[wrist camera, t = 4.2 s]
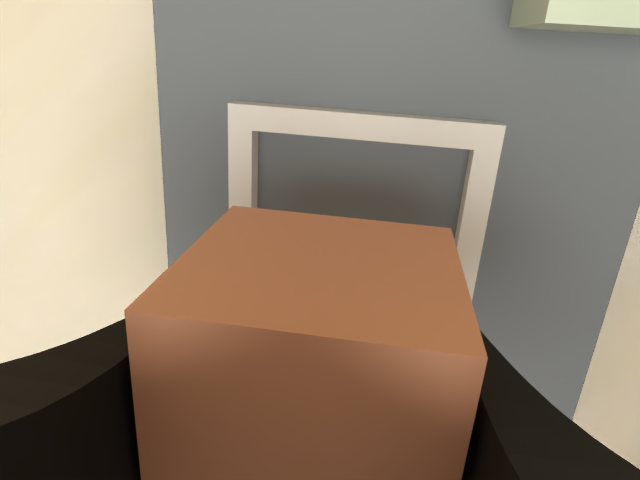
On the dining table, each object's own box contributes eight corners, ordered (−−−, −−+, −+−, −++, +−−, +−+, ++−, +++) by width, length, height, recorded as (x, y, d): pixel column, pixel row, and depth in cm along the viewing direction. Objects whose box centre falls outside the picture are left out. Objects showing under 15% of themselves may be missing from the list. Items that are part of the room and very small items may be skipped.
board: (561, 410, 20) (576, 443, 19) (184, 356, 22) (166, 382, 20) (780, -319, 12) (841, -376, 10) (150, -308, 14) (116, -356, 12)
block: (421, 408, 13) (432, 610, 8) (233, 381, 14) (148, 556, 9) (451, 228, 11) (487, 357, 7) (232, 205, 12) (124, 310, 7)
